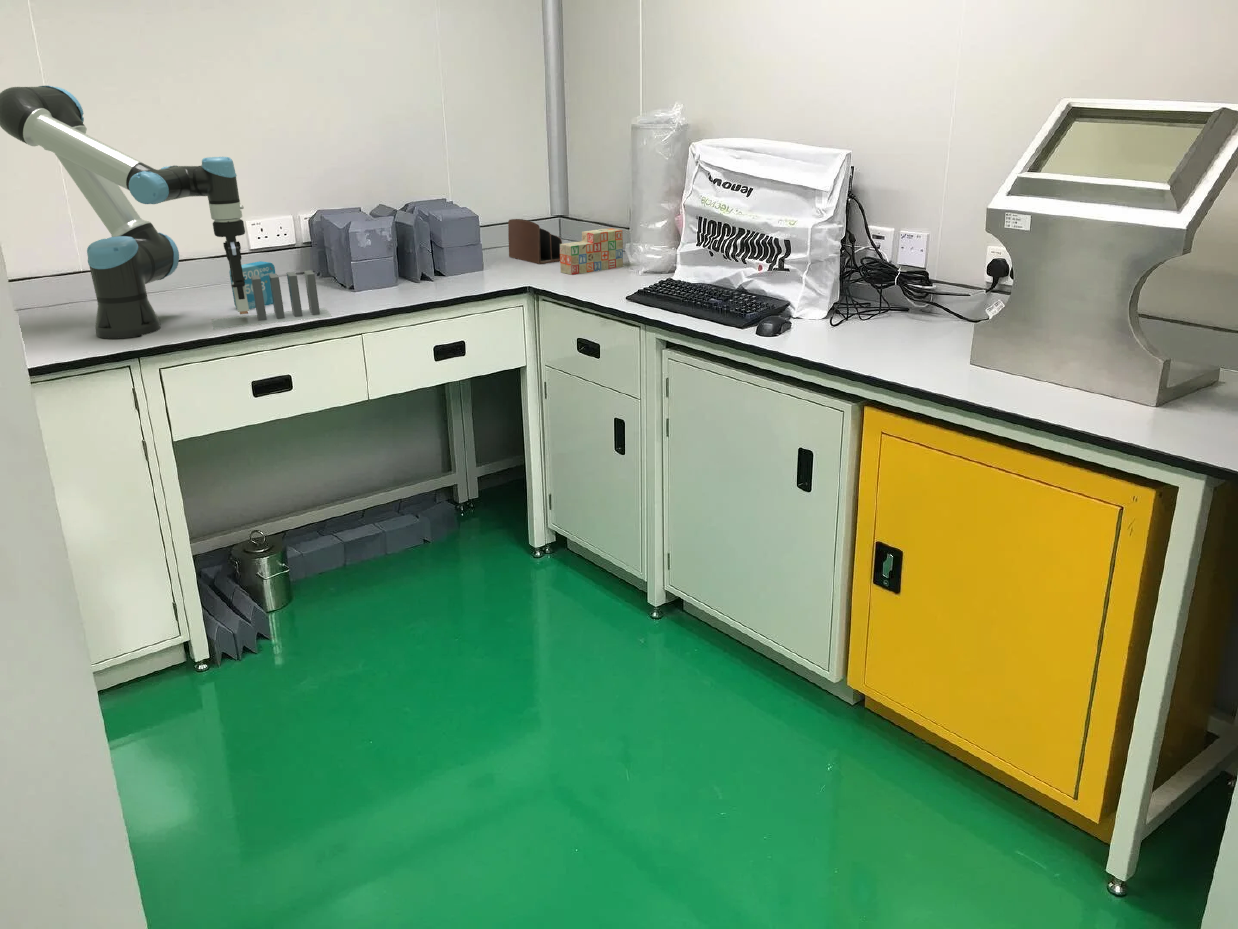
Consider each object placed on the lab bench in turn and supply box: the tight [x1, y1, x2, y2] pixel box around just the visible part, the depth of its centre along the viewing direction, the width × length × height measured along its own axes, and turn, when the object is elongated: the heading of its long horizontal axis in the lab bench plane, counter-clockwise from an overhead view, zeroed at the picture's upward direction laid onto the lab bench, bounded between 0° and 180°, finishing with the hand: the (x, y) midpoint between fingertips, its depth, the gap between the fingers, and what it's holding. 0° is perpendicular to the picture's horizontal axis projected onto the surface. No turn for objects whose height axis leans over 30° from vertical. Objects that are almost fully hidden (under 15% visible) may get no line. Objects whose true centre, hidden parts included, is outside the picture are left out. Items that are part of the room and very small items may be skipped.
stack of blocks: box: [559, 227, 624, 276], centre depth 321 cm, size 21×6×12 cm, turn 129°
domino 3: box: [269, 272, 285, 319], centre depth 264 cm, size 2×6×11 cm, turn 24°
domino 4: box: [286, 271, 303, 317], centre depth 266 cm, size 2×6×11 cm, turn 23°
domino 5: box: [303, 269, 320, 315], centre depth 267 cm, size 2×6×11 cm, turn 24°
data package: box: [228, 260, 277, 310], centre depth 278 cm, size 12×4×12 cm, turn 147°
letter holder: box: [507, 218, 563, 265], centre depth 341 cm, size 10×20×14 cm, turn 38°
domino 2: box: [251, 275, 267, 321], centre depth 262 cm, size 2×6×11 cm, turn 23°
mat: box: [210, 307, 333, 330], centre depth 264 cm, size 30×12×1 cm, turn 114°
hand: (242, 308), depth 261 cm, fingers closed on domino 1, 6 cm apart
